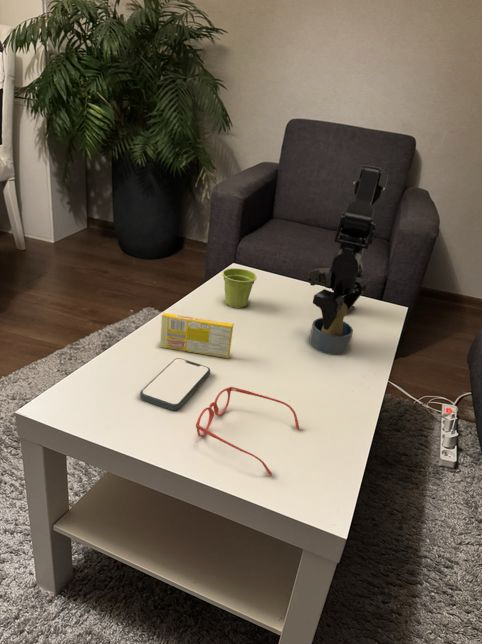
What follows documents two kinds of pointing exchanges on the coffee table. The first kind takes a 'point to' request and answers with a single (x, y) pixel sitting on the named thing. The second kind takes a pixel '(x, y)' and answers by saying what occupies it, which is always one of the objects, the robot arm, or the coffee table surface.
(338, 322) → the brown cylinder with knob
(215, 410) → the red eyeglasses
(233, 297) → the plant pot
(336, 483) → the coffee table surface
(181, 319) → the candy box
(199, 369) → the smartphone
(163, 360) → the coffee table surface
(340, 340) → the blue-grey round bowl
